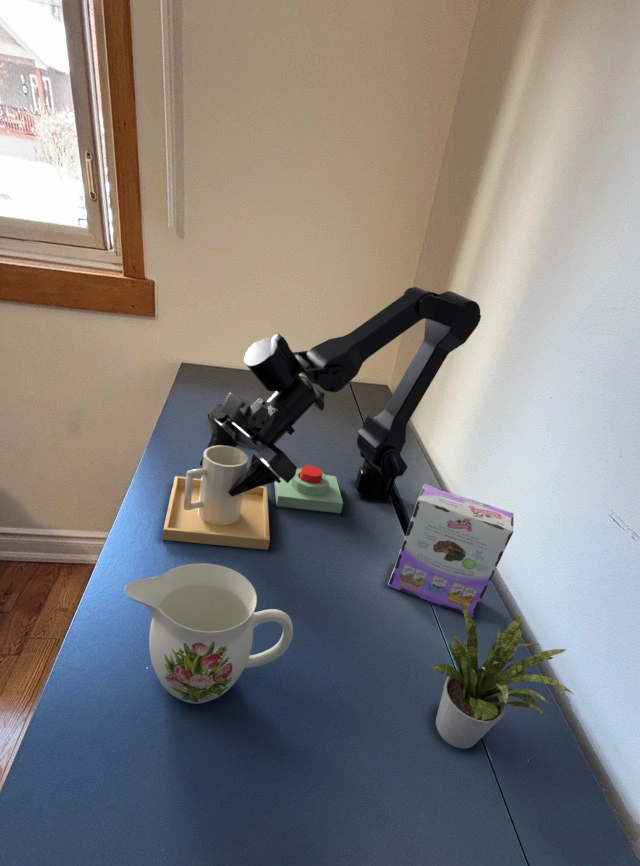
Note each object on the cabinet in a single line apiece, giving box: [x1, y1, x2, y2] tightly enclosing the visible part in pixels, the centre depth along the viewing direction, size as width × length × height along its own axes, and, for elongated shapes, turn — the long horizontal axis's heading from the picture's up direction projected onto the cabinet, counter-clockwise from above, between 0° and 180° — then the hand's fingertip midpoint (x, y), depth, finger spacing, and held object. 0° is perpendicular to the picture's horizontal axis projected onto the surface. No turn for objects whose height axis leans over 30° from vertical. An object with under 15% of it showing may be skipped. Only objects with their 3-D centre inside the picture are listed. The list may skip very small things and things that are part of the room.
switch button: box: [300, 465, 323, 484], centre depth 99 cm, size 4×4×2 cm
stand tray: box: [162, 475, 271, 551], centre depth 90 cm, size 16×16×2 cm
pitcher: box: [124, 562, 294, 704], centre depth 59 cm, size 11×18×14 cm, turn 101°
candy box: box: [387, 483, 515, 618], centre depth 80 cm, size 14×6×16 cm, turn 71°
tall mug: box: [184, 445, 250, 525], centre depth 86 cm, size 10×7×11 cm
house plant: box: [430, 601, 574, 749], centre depth 58 cm, size 14×14×16 cm
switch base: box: [273, 467, 344, 514], centre depth 100 cm, size 12×10×4 cm
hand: (215, 480), depth 85 cm, fingers open, 9 cm apart
